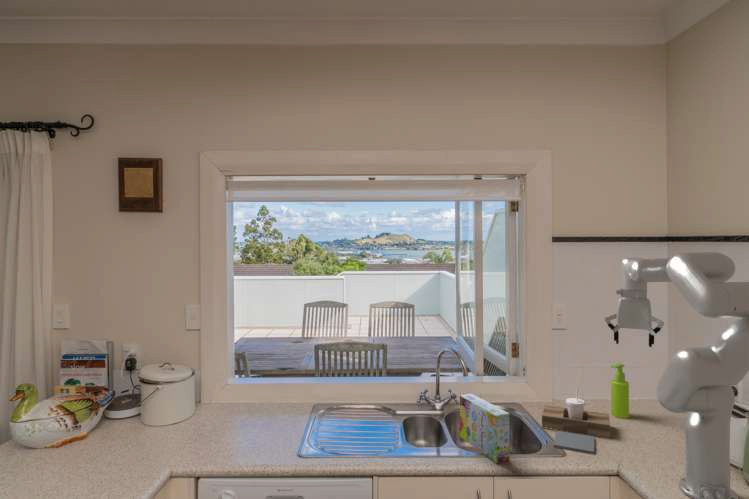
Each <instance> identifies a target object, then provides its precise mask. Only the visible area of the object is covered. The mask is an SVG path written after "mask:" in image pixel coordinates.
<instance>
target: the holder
mask: <svg viewBox="0 0 749 499" xmlns="http://www.w3.org/2000/svg"><path fill="white" fill-rule="evenodd" d="M542 427H547V428H552V429H551V430H553V429H557V430H556V431H559V430H563V431H562V432H566V431H568V433H572V432H573V433H575V434H581V435H587V436H594V437H598V438H599V437H600V438H604V439H605V438H606V439H611V422H610V414H609V413H605V412H604V413H603V412H598V411H597V412H596V411H590V410H589V411H588V410H583V418H582V420H580V419H573V418H569V415H568V408H567V407H560V406H552V405H547V404H546V405H544V406H543V410H542V415H541V428H542ZM547 428H546V429H547Z"/></svg>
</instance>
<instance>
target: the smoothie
mask: <svg viewBox="0 0 749 499" xmlns="http://www.w3.org/2000/svg"><path fill="white" fill-rule="evenodd" d="M578 391H579V390H578V388H575V397H568V398H566V399H565V403H566V408H568V415H569V418H573V419H580V420H582V418H583V411H585V410H584V407H585V406H586V402H585V400H583V399H580V398H579V395H578V394H579V392H578Z"/></svg>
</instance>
